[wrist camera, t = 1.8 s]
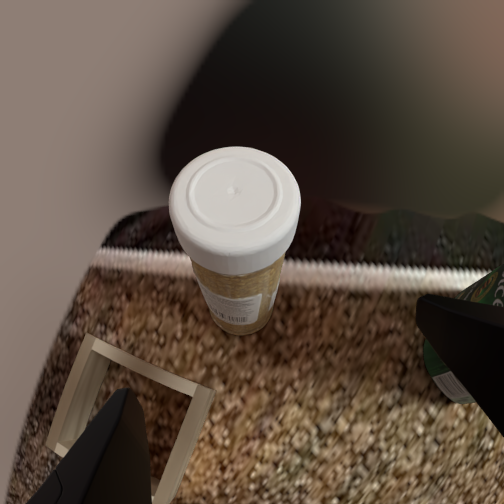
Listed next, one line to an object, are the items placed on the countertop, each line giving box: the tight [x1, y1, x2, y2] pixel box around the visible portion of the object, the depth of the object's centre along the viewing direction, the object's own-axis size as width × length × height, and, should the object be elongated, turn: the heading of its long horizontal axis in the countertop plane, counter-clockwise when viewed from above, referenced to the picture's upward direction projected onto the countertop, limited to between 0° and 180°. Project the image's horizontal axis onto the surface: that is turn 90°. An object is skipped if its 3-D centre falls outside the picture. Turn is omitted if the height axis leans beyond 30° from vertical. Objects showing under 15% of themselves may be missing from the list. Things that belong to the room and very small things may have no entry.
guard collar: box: [46, 333, 216, 504], centre depth 17 cm, size 9×9×4 cm
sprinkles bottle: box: [169, 147, 301, 335], centre depth 17 cm, size 5×5×14 cm
